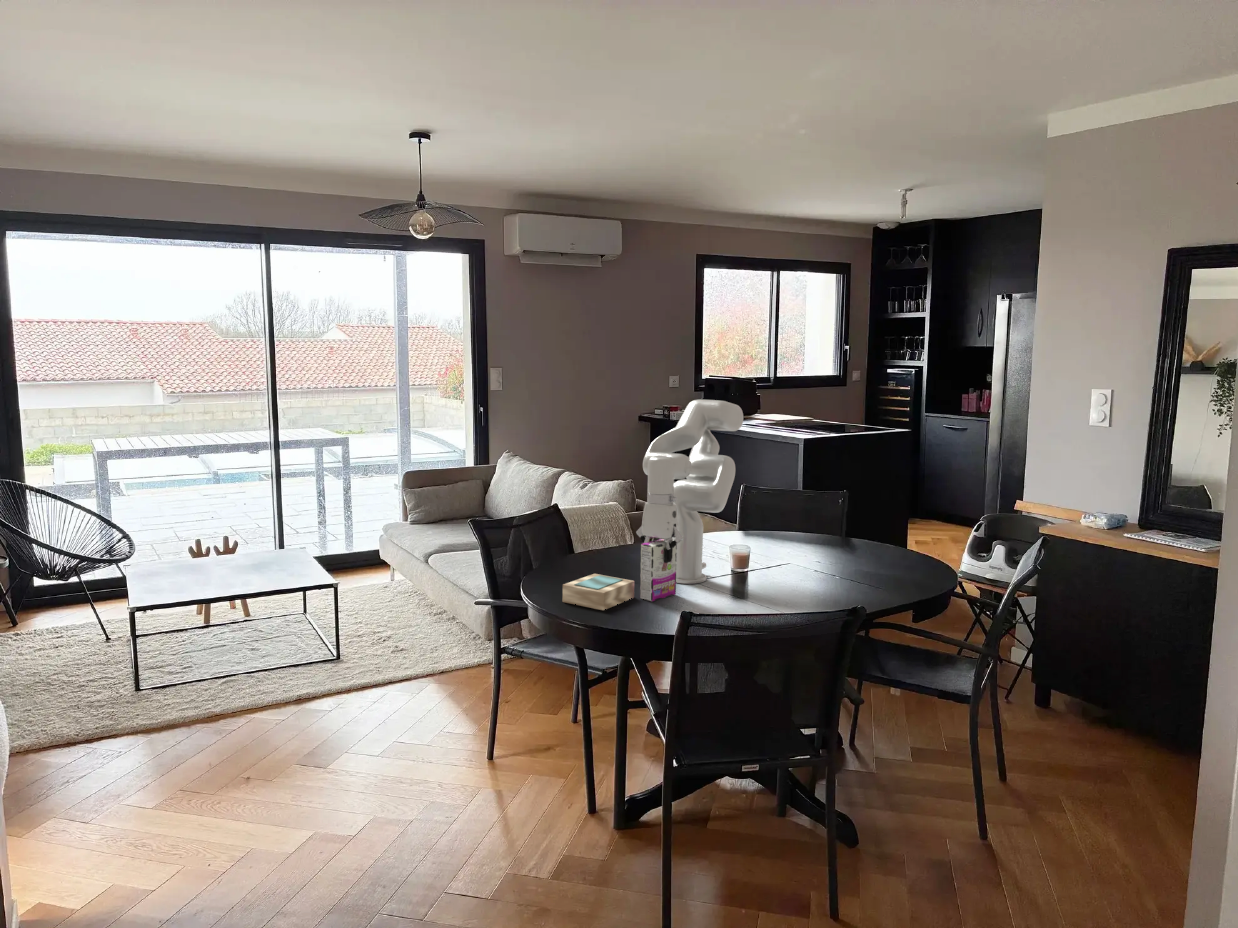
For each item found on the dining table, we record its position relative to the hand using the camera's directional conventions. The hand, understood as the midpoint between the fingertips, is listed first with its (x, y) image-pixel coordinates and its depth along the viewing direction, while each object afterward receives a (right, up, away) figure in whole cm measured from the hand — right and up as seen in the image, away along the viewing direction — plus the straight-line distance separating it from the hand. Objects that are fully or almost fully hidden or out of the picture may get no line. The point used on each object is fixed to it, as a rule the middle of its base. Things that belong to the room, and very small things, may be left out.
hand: (658, 559), depth 268 cm
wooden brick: (-17, -11, -3) cm, 21 cm away
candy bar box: (0, -11, +1) cm, 11 cm away
